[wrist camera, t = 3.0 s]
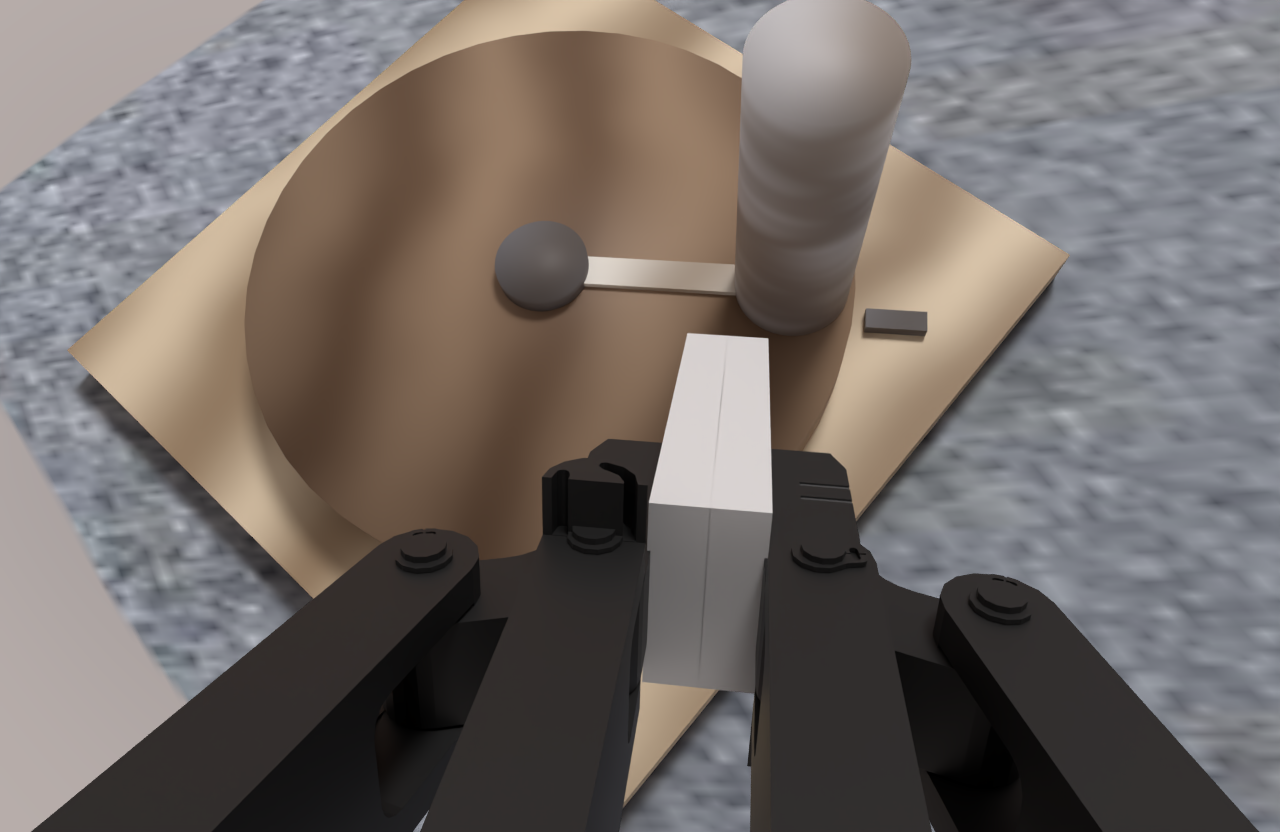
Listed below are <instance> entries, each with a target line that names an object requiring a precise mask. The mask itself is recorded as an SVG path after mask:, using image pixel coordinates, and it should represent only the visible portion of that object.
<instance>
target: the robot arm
mask: <svg viewBox="0 0 1280 832" xmlns="http://www.w3.org/2000/svg"><path fill="white" fill-rule="evenodd" d="M542 525H543V535H542V537H541V540H540V542H539V545H538V547H537V549H536V550H535V551H532V552H529V553H526V554H522V555H518V556H512V557H506V558H497V559H487V560H479V553H478V546H477V545H476V544H475V543H474V542H473V541H472V540H471V539H470V538H469V537H468V536H465V535H462V534H460V533H457V532H455V531H450V530H441V529H436V528H426V529H424V530H423V529H417V530H412V531H410V532H406V533H403V534H400V535H396V536H393V537H392V538H390V539H388V540H387V541H385V542H383V543H381V544H380V545H378V546H377V547H376V548H374V549H373V550H372V551H371V552H370V553H368V554H367V555H366V556H365V557H364V558H362V559H361V560H360V561H359V562H358V563H356V564H355V565H354V566H353V567H351V568H350V569H349V570H348V571H347V572H345V573H344V574H343V575H342V576H341V577H339V578H338V579H337V580H336V581H334V582H333V583H332V584H331V585H330V586H328V587H327V588H326V589H325V590H324V591H322V592H321V593H320V594H319V595H318V596H316V597H315V598H314V599H313V600H311V601H310V602H309V603H308V604H307V605H305V606H304V607H303V608H302V609H301V610H299V611H298V612H297V613H296V614H294V615H293V616H292V617H291V618H290V619H288V620H287V621H286V622H285V623H284V624H282V625H281V626H280V627H279V628H278V629H276V630H275V631H274V632H273V633H271V634H270V635H269V636H268V637H267V638H265V639H264V640H263V641H262V642H261V643H259V644H258V645H257V646H256V647H254V648H253V649H252V650H251V651H250V652H248V653H247V654H246V655H245V656H244V657H242V658H241V659H240V660H239V661H238V662H236V663H235V664H234V665H233V666H231V667H230V668H229V669H228V670H227V671H225V672H224V673H223V674H222V675H221V676H219V677H218V678H217V679H216V680H214V681H213V682H212V683H211V684H210V685H208V686H207V687H206V688H205V689H204V690H202V691H201V692H200V693H199V694H198V695H196V696H195V697H194V698H193V699H191V700H190V701H189V702H188V703H187V704H185V705H184V706H183V707H182V708H181V709H179V710H178V711H177V712H176V713H175V714H173V715H172V716H171V717H170V718H168V719H167V720H166V721H165V722H164V723H162V724H161V725H160V726H159V727H158V728H156V729H155V730H154V731H153V732H152V733H150V734H149V735H148V736H147V737H146V738H144V739H143V740H142V741H141V742H139V743H138V744H137V745H136V746H135V747H133V748H132V749H131V750H130V751H128V752H127V753H126V754H125V755H124V756H122V757H121V758H120V759H119V760H118V761H116V762H115V763H114V764H113V765H112V766H110V767H109V768H108V769H107V770H106V771H104V772H103V773H102V774H101V775H99V776H98V777H97V778H96V779H95V780H93V781H92V782H91V783H90V784H88V785H87V786H86V787H85V788H84V789H82V790H81V791H80V792H79V793H77V794H76V795H75V796H74V797H73V798H71V799H70V800H69V801H68V802H67V803H65V804H64V805H63V806H62V807H61V808H59V809H58V810H57V811H56V812H55V813H54V814H52V815H51V816H50V817H49V818H47V819H46V820H45V821H44V822H42V823H41V824H40V825H39V826H38V827H36V828H35V829H34V830H33V831H32V832H413V831H414V829H415V828H416V826H417V825H418V824H419V822H420V821H421V820H422V818H423V817H424V816H425V814H426V813H427V812H428V810H429V812H428V814H427V816H426V819H425V821H424V824H423V826H422V829H421V831H420V832H619V828H620V822H621V816H622V810H623V804H624V798H625V792H626V786H627V781H628V775H629V769H630V763H631V757H632V751H633V745H634V739H635V733H636V727H637V721H638V716H639V710H640V686H641V674H642V668H643V674H642V682H647V683H657V684H667V685H676V686H686V687H696V688H706V689H716V690H725V691H735V692H745V693H755V694H754V704H753V714H752V725H751V735H750V745H749V755H748V765H747V766H751V812H750V832H932V831H931V826H930V822H931V824H932V826H933V828H934V830H935V832H1259V831H1258V830H1257V829H1256V828H1255V827H1254V826H1253V824H1252V823H1251V822H1250V821H1249V820H1248V819H1247V818H1246V817H1245V816H1244V814H1243V813H1242V812H1241V811H1240V810H1239V809H1238V808H1237V807H1236V805H1235V804H1234V803H1233V802H1232V801H1231V800H1230V799H1229V798H1228V797H1227V795H1226V794H1225V793H1224V792H1223V791H1222V790H1221V789H1220V788H1219V786H1218V785H1217V784H1216V783H1215V782H1214V781H1213V780H1212V779H1211V778H1210V776H1209V775H1208V774H1207V773H1206V772H1205V771H1204V770H1203V769H1202V767H1201V766H1200V765H1199V764H1198V763H1197V762H1196V761H1195V760H1194V759H1193V757H1192V756H1191V755H1190V754H1189V753H1188V752H1187V751H1186V750H1185V748H1184V747H1183V746H1182V745H1181V744H1180V743H1179V742H1178V741H1177V740H1176V738H1175V737H1174V736H1173V735H1172V734H1171V733H1170V732H1169V731H1168V730H1167V728H1166V727H1165V726H1164V725H1163V724H1162V723H1161V722H1160V721H1159V719H1158V718H1157V717H1156V716H1155V715H1154V714H1153V713H1152V712H1151V711H1150V709H1149V708H1148V707H1147V706H1146V705H1145V704H1144V703H1143V702H1142V700H1141V699H1140V698H1139V697H1138V696H1137V695H1136V694H1135V693H1134V692H1133V690H1132V689H1131V688H1130V687H1129V686H1128V685H1127V684H1126V683H1125V681H1124V680H1123V679H1122V678H1121V677H1120V676H1119V675H1118V674H1117V673H1116V671H1115V670H1114V669H1113V668H1112V667H1111V666H1110V665H1109V664H1108V662H1107V661H1106V660H1105V659H1104V658H1103V657H1102V656H1101V655H1100V654H1099V652H1098V651H1097V650H1096V649H1095V648H1094V647H1093V646H1092V645H1091V643H1090V642H1089V641H1088V640H1087V639H1086V638H1085V637H1084V636H1083V635H1082V633H1081V632H1080V631H1079V630H1078V629H1077V628H1076V627H1075V626H1074V624H1073V623H1072V622H1071V621H1070V620H1069V619H1068V618H1067V617H1066V616H1065V614H1064V613H1063V612H1062V611H1061V610H1060V609H1059V608H1058V607H1057V606H1056V604H1055V603H1054V602H1052V601H1051V600H1050V599H1049V598H1047V597H1046V596H1045V595H1044V594H1043V593H1041V592H1040V591H1039V590H1037V589H1035V588H1032V587H1030V586H1028V585H1026V584H1024V583H1022V582H1020V581H1018V580H1016V579H1012V578H1009V577H1007V578H1006V577H1004V576H1001V575H995V574H969V575H963V576H957V577H955V578H953V579H952V580H950V581H949V582H947V583H945V584H944V586H943V589H942V592H941V594H940V599H939V598H935V597H931V596H928V595H924V594H921V593H917V592H914V591H911V590H908V589H905V588H902V587H899V586H897V585H895V584H893V583H891V582H889V581H887V580H885V579H884V578H882V577H881V576H880V575H879V573H878V568H877V563H876V561H875V560H874V558H873V556H872V554H871V552H870V551H869V550H867V549H866V548H865V547H863V546H862V545H861V544H860V539H859V534H858V529H857V523H856V518H855V513H854V507H853V503H852V497H851V491H850V489H849V481H848V476H847V470H846V468H845V467H844V466H843V465H842V464H841V463H840V462H839V461H837V460H836V459H835V458H834V457H833V456H832V455H831V454H830V453H820V452H807V451H794V450H781V449H771V428H770V388H769V347H768V338H754V337H739V336H724V335H708V334H693V333H687V337H686V342H685V346H684V351H683V355H682V359H681V364H680V368H679V372H678V377H677V381H676V386H675V390H674V394H673V399H672V403H671V408H670V412H669V416H668V421H667V425H666V429H665V434H664V438H663V443H659V442H646V441H632V440H619V439H607V440H606V441H604V442H603V443H601V444H600V445H599V446H597V447H596V448H594V449H593V450H592V451H590V453H589V456H588V458H579V459H574V460H569V461H564V462H562V463H560V464H558V465H556V466H553V467H551V468H550V469H549V470H548V471H547V472H546V473H545V474H544V475H543V476H542ZM929 820H930V821H929Z"/></svg>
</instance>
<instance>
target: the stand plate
mask: <svg viewBox="0 0 1280 832" xmlns="http://www.w3.org/2000/svg"><path fill="white" fill-rule="evenodd" d="M549 31H594V32H607V33H619V34H624V35H629V36H635V37H640V38H645V39H650V40H655V41H658V42H661V43H665V44H668V45H671V46H674V47H677V48H681V49H684V50H687V51H689V52H692V53H694V54H696V55H698V56H701V57H703V58H705V59H707V60H710V61H712V62H714V63H716V64H719V65H720V66H722V67H724V68H725V69H727V70H729V71H730V72H732V73H734V74H735V75H737V76H739V77H740V78H742V60H743V54H741V53H740V52H738V51H737V50H735V49H733V48H732V47H730V46H728V45H727V44H725V43H723V42H722V41H720V40H719V39H717V38H715V37H714V36H712V35H710V34H709V33H707V32H706V31H704V30H702V29H701V28H699V27H697V26H696V25H694V24H693V23H691V22H689V21H688V20H686V19H684V18H683V17H681V16H679V15H678V14H676V13H675V12H673V11H671V10H670V9H668V8H666V7H665V6H663V5H662V4H660V3H658V2H657V1H655V0H464V1H463V2H462V3H461V4H459V5H458V6H457V7H456V8H455V9H454V10H453V11H451V12H450V13H449V14H448V15H447V16H446V17H445V18H443V19H442V20H441V21H440V22H439V23H438V24H437V25H436V26H434V27H433V28H432V29H431V30H430V31H429V32H428V33H426V34H425V35H424V36H423V37H422V38H421V39H420V40H419V41H417V42H416V43H415V44H414V45H413V46H412V47H411V48H409V49H408V50H407V51H406V52H405V53H404V54H403V55H402V56H400V57H399V58H398V59H397V60H396V61H395V62H394V63H392V64H391V65H390V66H389V67H388V68H387V69H386V70H385V71H383V72H382V73H381V74H380V75H379V76H378V77H377V78H375V79H374V80H373V81H372V82H371V83H370V84H369V85H367V86H366V87H365V88H364V89H363V90H362V91H361V92H360V93H358V94H357V95H356V96H355V97H354V98H353V99H352V100H350V101H349V102H348V103H347V104H346V105H345V106H344V107H343V108H341V109H340V110H339V111H338V112H337V113H336V114H335V115H333V116H332V117H331V118H330V119H329V120H328V121H327V122H326V123H324V124H323V125H322V126H321V127H320V128H319V129H318V130H316V131H315V132H314V133H313V134H312V135H311V136H310V137H309V138H307V139H306V140H305V141H304V142H303V143H302V144H301V145H299V146H298V147H297V148H296V149H295V150H294V151H293V152H291V153H290V154H289V155H288V156H287V157H286V158H285V159H284V160H282V161H281V162H280V163H279V164H278V165H277V166H276V167H274V168H273V169H272V170H271V171H270V172H269V173H268V174H267V175H265V176H264V177H263V178H262V179H261V180H260V181H259V182H257V183H256V184H255V185H254V186H253V187H252V188H251V189H250V190H248V191H247V192H246V193H245V194H244V195H243V196H242V197H240V198H239V199H238V200H237V201H236V202H235V203H234V204H233V205H231V206H230V207H229V208H228V209H227V210H226V211H225V212H223V213H222V214H221V215H220V216H219V217H218V218H217V219H215V220H214V221H213V222H212V223H211V224H210V225H209V226H208V227H206V228H205V229H204V230H203V231H202V232H201V233H200V234H198V235H197V236H196V237H195V238H194V239H193V240H192V241H191V242H189V243H188V244H187V245H186V246H185V247H184V248H183V249H181V250H180V251H179V252H178V253H177V254H176V255H175V256H174V257H172V258H171V259H170V260H169V261H168V262H167V263H166V264H164V265H163V266H162V267H161V268H160V269H159V270H158V271H157V272H155V273H154V274H153V275H152V276H151V277H150V278H149V279H147V280H146V281H145V282H144V283H143V284H142V285H141V286H140V287H138V288H137V289H136V290H135V291H134V292H133V293H132V294H130V295H129V296H128V297H127V298H126V299H125V300H124V301H122V302H121V303H120V304H119V305H118V306H117V307H116V308H115V309H113V310H112V311H111V312H110V313H109V314H108V315H107V316H105V317H104V318H103V319H102V320H101V321H100V322H99V323H98V324H96V325H95V326H94V327H93V328H92V329H91V330H90V331H88V332H87V333H86V334H85V335H84V336H83V337H82V338H81V339H79V340H78V341H77V342H76V343H75V344H74V345H73V346H71V347H70V348H69V349H68V351H69V352H70V353H71V354H72V355H73V356H74V357H75V358H76V359H77V360H78V362H79V363H80V364H81V365H82V366H83V367H84V368H85V369H86V370H87V371H88V372H89V373H90V374H91V375H92V376H93V377H94V378H95V379H96V380H97V381H98V382H99V383H100V384H101V385H102V386H103V387H104V388H105V389H106V390H107V391H108V392H109V393H110V394H111V395H112V396H113V397H114V398H115V399H116V400H117V401H118V402H119V403H120V404H121V405H122V406H123V407H124V408H125V409H126V410H127V411H128V412H129V413H130V414H131V415H132V416H133V417H134V418H135V419H136V420H137V421H138V422H139V423H140V424H141V425H142V426H143V427H144V428H145V429H146V430H147V431H148V432H149V433H150V434H151V435H152V436H153V437H154V438H155V439H156V440H157V441H158V442H159V443H160V444H161V445H162V446H163V447H164V448H165V449H166V450H167V451H168V452H169V453H170V454H171V455H172V456H173V457H174V458H175V459H176V460H177V461H178V462H179V463H180V464H181V465H182V466H183V467H184V468H185V469H186V470H187V471H188V472H189V474H190V475H191V476H192V477H193V478H194V479H195V480H196V481H197V482H198V483H199V484H200V485H201V486H202V487H203V488H204V489H205V490H206V491H207V492H208V493H209V494H210V495H211V496H212V497H213V498H214V499H215V500H216V501H217V502H218V503H219V504H220V505H221V506H222V507H223V508H224V509H225V510H226V511H227V512H228V513H229V514H230V515H231V516H232V517H233V518H234V519H235V520H236V521H237V522H238V523H239V524H240V525H241V526H242V527H243V528H244V529H245V530H246V531H247V532H248V533H249V534H250V535H251V536H252V537H253V538H254V539H255V540H256V541H257V542H258V543H259V544H260V545H261V546H262V547H263V548H264V549H265V550H266V551H267V552H268V553H269V554H270V555H271V556H272V557H273V558H274V559H275V560H276V561H277V562H278V563H279V564H280V565H281V566H282V567H283V568H284V569H285V570H286V571H287V572H288V573H289V574H290V575H291V576H292V577H293V578H294V579H295V580H296V581H297V582H298V583H299V585H300V586H301V587H302V588H303V589H304V590H305V591H306V592H307V593H308V594H309V595H310V596H311V597H312V598H313V599H314V598H315V597H316V596H318V595H319V594H320V593H321V592H322V591H324V590H325V589H326V588H327V587H328V586H330V585H331V584H332V583H333V582H334V581H336V580H337V579H338V578H339V577H341V576H342V575H343V574H344V573H345V572H347V571H348V570H349V569H350V568H351V567H353V566H354V565H355V564H356V563H358V562H359V561H360V560H361V559H362V558H364V557H365V556H366V555H367V554H368V553H370V552H371V551H372V550H373V549H374V548H376V547H377V546H378V545H380V544H381V542H379V541H378V540H376V539H375V538H373V537H372V536H370V535H369V534H367V533H366V532H364V531H363V530H361V529H360V528H358V527H357V526H355V525H354V524H353V523H351V522H350V521H348V520H347V519H345V518H344V517H342V516H341V515H340V514H338V513H337V512H336V511H335V510H334V509H333V508H332V507H330V506H329V505H328V504H327V503H326V502H325V501H324V500H323V499H322V498H321V497H319V496H318V495H317V494H316V493H315V492H314V491H313V490H312V489H311V488H310V487H309V486H308V485H307V484H306V482H305V481H304V480H303V479H302V478H301V476H300V475H299V474H298V473H297V471H296V470H295V469H294V468H293V466H292V465H291V464H290V463H289V461H288V460H287V459H286V458H285V456H284V454H283V452H282V451H281V449H280V447H279V446H278V444H277V442H276V440H275V439H274V437H273V435H272V433H271V432H270V430H269V428H268V427H267V424H266V422H265V419H264V416H263V414H262V411H261V409H260V406H259V404H258V401H257V398H256V396H255V393H254V389H253V385H252V380H251V376H250V371H249V366H248V362H247V357H246V341H245V326H244V320H245V307H246V294H247V286H248V281H249V277H250V272H251V268H252V263H253V259H254V254H255V251H256V249H257V246H258V243H259V240H260V238H261V235H262V232H263V229H264V227H265V224H266V221H267V219H268V217H269V215H270V213H271V212H272V210H273V208H274V206H275V204H276V202H277V200H278V198H279V196H280V194H281V192H282V190H283V189H284V187H285V186H286V184H287V183H288V181H289V180H290V179H291V177H292V176H293V174H294V173H295V171H296V170H297V168H298V167H299V165H300V164H301V162H302V161H303V160H304V159H305V157H306V156H307V155H308V154H309V153H310V152H311V151H312V149H313V148H314V147H315V146H316V145H317V144H318V143H319V141H320V140H321V139H322V138H323V137H324V136H325V135H326V133H328V132H329V131H330V130H331V129H332V128H333V127H334V126H335V125H336V124H337V123H338V122H340V121H341V120H342V119H343V118H344V117H345V116H346V115H347V114H348V113H349V112H350V111H352V110H353V109H354V108H355V107H357V106H358V105H359V104H361V103H362V102H364V101H365V100H366V99H368V98H369V97H370V96H372V95H373V94H374V93H376V92H377V91H378V90H380V89H381V88H383V87H385V86H386V85H388V84H390V83H391V82H393V81H395V80H396V79H398V78H400V77H402V76H403V75H405V74H407V73H408V72H410V71H412V70H414V69H416V68H418V67H420V66H423V65H425V64H427V63H429V62H431V61H434V60H436V59H438V58H440V57H442V56H445V55H448V54H450V53H453V52H456V51H459V50H462V49H465V48H468V47H471V46H474V45H477V44H481V43H485V42H489V41H494V40H498V39H502V38H507V37H511V36H517V35H525V34H533V33H541V32H549ZM1069 256H1070V255H1069V254H1067V253H1066V252H1064V251H1063V250H1061V249H1059V248H1058V247H1056V246H1054V245H1053V244H1051V243H1050V242H1048V241H1046V240H1045V239H1043V238H1041V237H1040V236H1038V235H1036V234H1035V233H1033V232H1032V231H1030V230H1028V229H1027V228H1025V227H1023V226H1022V225H1020V224H1019V223H1017V222H1015V221H1014V220H1012V219H1010V218H1009V217H1007V216H1006V215H1004V214H1002V213H1001V212H999V211H997V210H996V209H994V208H992V207H991V206H989V205H988V204H986V203H984V202H983V201H981V200H979V199H978V198H976V197H975V196H973V195H971V194H970V193H968V192H966V191H965V190H963V189H961V188H960V187H958V186H957V185H955V184H953V183H952V182H950V181H948V180H947V179H945V178H944V177H942V176H940V175H939V174H937V173H935V172H934V171H932V170H931V169H929V168H927V167H926V166H924V165H922V164H921V163H919V162H917V161H916V160H914V159H913V158H911V157H909V156H908V155H906V154H904V153H903V152H901V151H900V150H898V149H896V148H895V147H893V146H891V145H889V149H888V152H887V156H886V160H885V163H884V167H883V171H882V174H881V178H880V182H879V185H878V189H877V192H876V196H875V200H874V203H873V207H872V211H871V214H870V218H869V222H868V225H867V229H866V233H865V236H864V240H863V244H862V247H861V251H860V254H859V258H858V262H857V265H856V269H855V287H856V289H855V299H854V308H853V317H852V326H851V330H850V334H849V337H848V341H847V345H846V349H845V353H844V357H843V360H842V364H841V367H840V371H839V374H838V377H837V381H836V384H835V387H834V390H833V392H832V394H831V397H830V399H829V402H828V404H827V406H826V409H825V411H824V413H823V416H822V418H821V420H820V423H819V424H818V426H817V428H816V429H815V431H814V433H813V434H812V436H811V438H810V439H809V441H808V443H807V444H806V446H805V448H804V449H803V451H807V452H820V453H830V454H831V455H832V456H833V457H834V458H835V459H836V460H837V461H839V462H840V463H841V464H842V465H843V466H844V467H845V468H846V470H847V476H848V481H849V489H850V491H851V497H852V503H853V507H854V513H855V518H856V521H857V520H858V519H859V517H860V516H861V515H862V514H863V513H864V511H865V510H866V509H867V508H868V506H869V505H870V504H871V503H872V501H873V500H874V499H875V498H876V497H877V495H878V494H879V493H880V492H881V490H882V489H883V488H884V487H885V486H886V484H887V483H888V482H889V481H890V479H891V478H892V477H893V476H894V474H895V473H896V472H897V471H898V470H899V468H900V467H901V466H902V465H903V463H904V462H905V461H906V460H907V458H908V457H909V456H910V455H911V454H912V452H913V451H914V450H915V449H916V447H917V446H918V445H919V444H920V442H921V441H922V440H923V439H924V438H925V436H926V435H927V434H928V433H929V431H930V430H931V429H932V428H933V426H934V425H935V424H936V423H937V422H938V420H939V419H940V418H941V417H942V415H943V414H944V413H945V412H946V410H947V409H948V408H949V407H950V406H951V404H952V403H953V402H954V401H955V399H956V398H957V397H958V396H959V394H960V393H961V392H962V391H963V390H964V388H965V387H966V386H967V385H968V383H969V382H970V381H971V380H972V378H973V377H974V376H975V375H976V374H977V372H978V371H979V370H980V369H981V367H982V366H983V365H984V364H985V363H986V361H987V360H988V359H989V358H990V356H991V355H992V354H993V353H994V351H995V350H996V349H997V348H998V347H999V345H1000V344H1001V343H1002V342H1003V340H1004V339H1005V338H1006V337H1007V335H1008V334H1009V333H1010V332H1011V331H1012V329H1013V328H1014V327H1015V326H1016V324H1017V323H1018V322H1019V321H1020V319H1021V318H1022V317H1023V316H1024V315H1025V313H1026V312H1027V311H1028V310H1029V308H1030V307H1031V306H1032V305H1033V303H1034V302H1035V301H1036V300H1037V299H1038V297H1039V296H1040V295H1041V294H1042V292H1043V291H1044V290H1045V289H1046V287H1047V286H1048V285H1049V284H1050V283H1051V281H1052V280H1053V279H1054V278H1055V276H1056V275H1057V273H1058V272H1059V270H1060V269H1061V267H1062V266H1063V264H1064V263H1065V262H1066V260H1067V259H1068V257H1069ZM642 674H643V668H642ZM642 674H641V686H640V710H639V716H638V721H637V727H636V733H635V739H634V745H633V751H632V757H631V763H630V769H629V775H628V781H627V786H626V792H625V798H624V804H623V808H624V807H625V805H626V804H627V803H628V802H629V800H630V799H631V798H632V797H633V795H634V794H635V793H636V792H637V791H638V789H639V788H640V787H641V786H642V784H643V783H644V782H645V781H646V779H647V778H648V777H649V776H650V775H651V773H652V772H653V771H654V770H655V768H656V767H657V766H658V765H659V763H660V762H661V761H662V760H663V759H664V757H665V756H666V755H667V754H668V752H669V751H670V750H671V749H672V747H673V746H674V745H675V744H676V743H677V741H678V740H679V739H680V738H681V736H682V735H683V734H684V733H685V731H686V730H687V729H688V728H689V727H690V725H691V724H692V723H693V722H694V720H695V719H696V718H697V717H698V716H699V714H700V713H701V712H702V711H703V709H704V708H705V707H706V706H707V704H708V703H709V702H710V701H711V700H712V698H713V697H714V696H715V695H716V693H717V692H718V691H719V690H716V689H706V688H696V687H686V686H676V685H667V684H657V683H647V682H642Z"/></svg>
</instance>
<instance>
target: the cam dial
mask: <svg viewBox="0 0 1280 832" xmlns="http://www.w3.org/2000/svg"><path fill="white" fill-rule="evenodd" d="M910 68H911V51H910V47H909V43H908V40H907V38H906V36H905V34H904V32H903V30H902V29H901V27H900V26H899V25H898V23H897V22H896V21H895V20H894V19H893V18H892V17H891V16H890V15H889V14H888V13H886V12H885V11H884V10H882V9H881V8H879V7H877V6H876V5H874V4H872V3H870V2H868V1H865V0H788V1H786V2H784V3H782V4H779V5H778V6H776V7H774V8H773V9H771V10H770V11H769V12H767V13H766V14H765V15H764V16H762V17H761V19H760V20H759V21H758V22H757V23H756V24H755V25H754V27H753V28H752V29H751V31H750V33H749V35H748V37H747V39H746V42H745V45H744V50H743V60H742V78H740V77H739V76H737V75H735V74H734V73H732V72H730V71H729V70H727V69H725V68H724V67H722V66H720V65H719V64H716V63H714V62H712V61H710V60H707V59H705V58H703V57H701V56H698V55H696V54H694V53H692V52H689V51H687V50H684V49H681V48H677V47H674V46H671V45H668V44H665V43H661V42H658V41H655V40H650V39H645V38H640V37H635V36H629V35H624V34H619V33H607V32H594V31H549V32H541V33H533V34H525V35H517V36H511V37H507V38H502V39H498V40H494V41H489V42H485V43H481V44H477V45H474V46H471V47H468V48H465V49H462V50H459V51H456V52H453V53H450V54H448V55H445V56H442V57H440V58H438V59H436V60H434V61H431V62H429V63H427V64H425V65H423V66H420V67H418V68H416V69H414V70H412V71H410V72H408V73H407V74H405V75H403V76H402V77H400V78H398V79H396V80H395V81H393V82H391V83H390V84H388V85H386V86H385V87H383V88H381V89H380V90H378V91H377V92H376V93H374V94H373V95H372V96H370V97H369V98H368V99H366V100H365V101H364V102H362V103H361V104H359V105H358V106H357V107H355V108H354V109H353V110H352V111H350V112H349V113H348V114H347V115H346V116H345V117H344V118H343V119H342V120H341V121H340V122H338V123H337V124H336V125H335V126H334V127H333V128H332V129H331V130H330V131H329V132H328V133H326V135H325V136H324V137H323V138H322V139H321V140H320V141H319V143H318V144H317V145H316V146H315V147H314V148H313V149H312V151H311V152H310V153H309V154H308V155H307V156H306V157H305V159H304V160H303V161H302V162H301V164H300V165H299V167H298V168H297V170H296V171H295V173H294V174H293V176H292V177H291V179H290V180H289V181H288V183H287V184H286V186H285V187H284V189H283V190H282V192H281V194H280V196H279V198H278V200H277V202H276V204H275V206H274V208H273V210H272V212H271V213H270V215H269V217H268V219H267V221H266V224H265V227H264V229H263V232H262V235H261V238H260V240H259V243H258V246H257V249H256V251H255V254H254V259H253V263H252V268H251V272H250V277H249V281H248V286H247V294H246V307H245V320H244V326H245V341H246V357H247V362H248V366H249V371H250V376H251V380H252V385H253V389H254V393H255V396H256V398H257V401H258V404H259V406H260V409H261V411H262V414H263V416H264V419H265V422H266V424H267V427H268V428H269V430H270V432H271V433H272V435H273V437H274V439H275V440H276V442H277V444H278V446H279V447H280V449H281V451H282V452H283V454H284V456H285V458H286V459H287V460H288V461H289V463H290V464H291V465H292V466H293V468H294V469H295V470H296V471H297V473H298V474H299V475H300V476H301V478H302V479H303V480H304V481H305V482H306V484H307V485H308V486H309V487H310V488H311V489H312V490H313V491H314V492H315V493H316V494H317V495H318V496H319V497H321V498H322V499H323V500H324V501H325V502H326V503H327V504H328V505H329V506H330V507H332V508H333V509H334V510H335V511H336V512H337V513H338V514H340V515H341V516H342V517H344V518H345V519H347V520H348V521H350V522H351V523H353V524H354V525H355V526H357V527H358V528H360V529H361V530H363V531H364V532H366V533H367V534H369V535H370V536H372V537H373V538H375V539H376V540H378V541H379V542H381V543H383V542H385V541H387V540H388V539H390V538H392V537H393V536H396V535H400V534H403V533H406V532H410V531H412V530H417V529H423V530H424V529H426V528H436V529H441V530H450V531H455V532H457V533H460V534H462V535H465V536H468V537H469V538H470V539H471V540H472V541H473V542H474V543H475V544H476V545H477V546H478V553H479V560H487V559H497V558H506V557H512V556H518V555H522V554H526V553H529V552H532V551H535V550H536V549H537V547H538V545H539V542H540V540H541V537H542V535H543V525H542V476H543V475H544V474H545V473H546V472H547V471H548V470H549V469H550V468H551V467H553V466H556V465H558V464H560V463H562V462H564V461H569V460H574V459H579V458H588V456H589V453H590V451H592V450H593V449H594V448H596V447H597V446H599V445H600V444H601V443H603V442H604V441H606V440H607V439H619V440H632V441H646V442H659V443H663V438H664V434H665V429H666V425H667V421H668V416H669V412H670V408H671V403H672V399H673V394H674V390H675V386H676V381H677V377H678V372H679V368H680V364H681V359H682V355H683V351H684V346H685V342H686V337H687V333H693V334H708V335H724V336H739V337H754V338H768V347H769V388H770V428H771V449H781V450H794V451H803V449H804V448H805V446H806V444H807V443H808V441H809V439H810V438H811V436H812V434H813V433H814V431H815V429H816V428H817V426H818V424H819V423H820V420H821V418H822V416H823V413H824V411H825V409H826V406H827V404H828V402H829V399H830V397H831V394H832V392H833V390H834V387H835V384H836V381H837V377H838V374H839V371H840V367H841V364H842V360H843V357H844V353H845V349H846V345H847V341H848V337H849V334H850V330H851V326H852V317H853V308H854V299H855V289H856V287H855V269H856V265H857V262H858V258H859V254H860V251H861V247H862V244H863V240H864V236H865V233H866V229H867V225H868V222H869V218H870V214H871V211H872V207H873V203H874V200H875V196H876V192H877V189H878V185H879V182H880V178H881V174H882V171H883V167H884V163H885V160H886V156H887V152H888V149H889V145H890V141H891V138H892V134H893V130H894V127H895V123H896V120H897V116H898V112H899V109H900V105H901V101H902V98H903V94H904V90H905V87H906V83H907V79H908V76H909V72H910Z"/></svg>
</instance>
